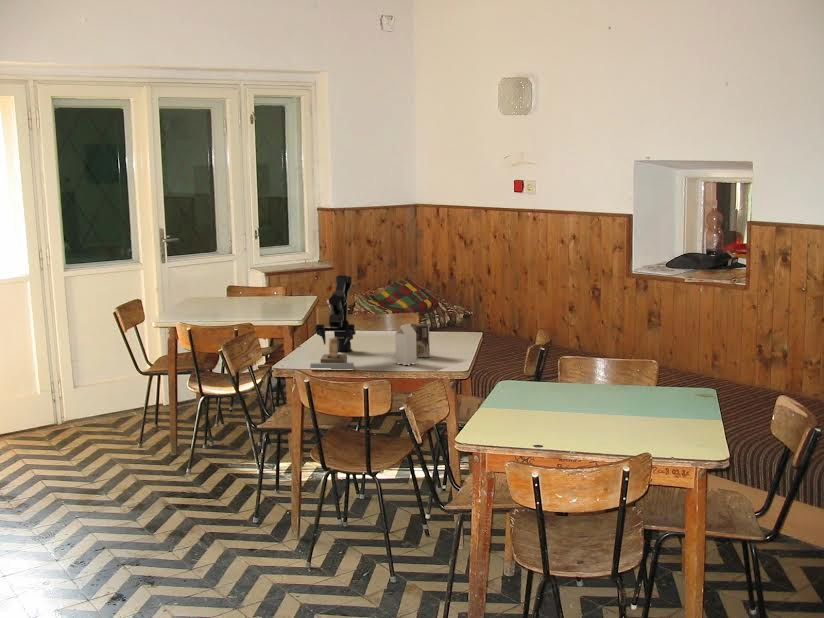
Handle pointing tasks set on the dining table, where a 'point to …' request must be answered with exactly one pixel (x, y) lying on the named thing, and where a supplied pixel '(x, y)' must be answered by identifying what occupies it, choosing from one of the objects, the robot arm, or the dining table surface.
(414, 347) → the milk carton
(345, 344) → the robot arm
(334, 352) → the dowel
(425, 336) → the coffee box
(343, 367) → the stop rail
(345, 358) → the socket block
